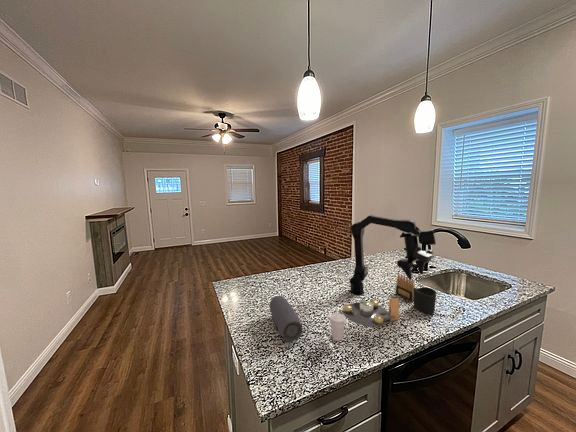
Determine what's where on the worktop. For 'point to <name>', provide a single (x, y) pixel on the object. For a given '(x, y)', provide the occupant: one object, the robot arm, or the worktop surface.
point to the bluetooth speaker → (285, 319)
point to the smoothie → (337, 325)
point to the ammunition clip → (405, 288)
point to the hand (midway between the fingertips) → (416, 276)
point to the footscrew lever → (392, 312)
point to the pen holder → (424, 300)
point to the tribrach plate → (365, 319)
